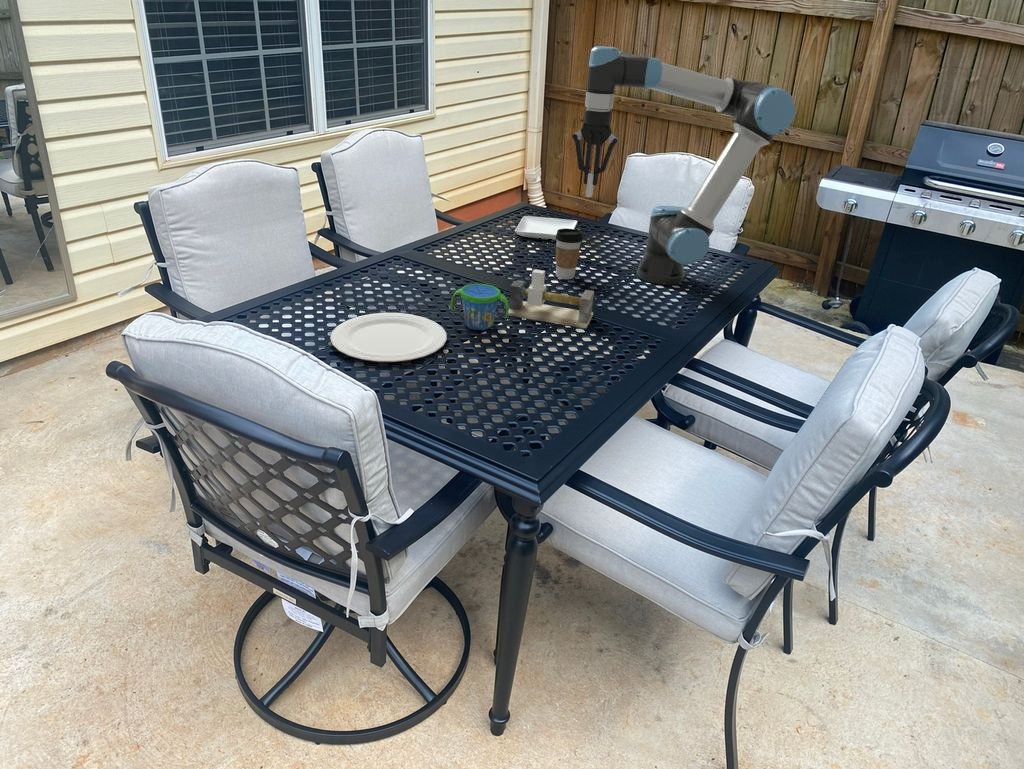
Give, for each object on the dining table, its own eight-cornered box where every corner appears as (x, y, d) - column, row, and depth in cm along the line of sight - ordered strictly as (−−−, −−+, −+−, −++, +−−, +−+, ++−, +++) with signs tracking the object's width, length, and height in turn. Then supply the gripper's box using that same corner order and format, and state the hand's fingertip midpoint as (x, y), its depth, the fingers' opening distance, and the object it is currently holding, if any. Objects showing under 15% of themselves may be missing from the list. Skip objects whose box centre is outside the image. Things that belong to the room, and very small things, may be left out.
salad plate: (513, 239, 270) (514, 229, 268) (523, 223, 288) (523, 214, 287) (571, 245, 267) (572, 236, 265) (577, 228, 286) (577, 220, 284)
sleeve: (545, 300, 209) (547, 269, 205) (540, 306, 205) (543, 275, 201) (531, 298, 210) (533, 267, 206) (527, 304, 206) (529, 273, 202)
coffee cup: (568, 282, 232) (573, 236, 225) (546, 276, 236) (550, 230, 229) (583, 276, 238) (588, 230, 231) (561, 269, 242) (565, 225, 235)
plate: (396, 379, 170) (396, 372, 170) (305, 345, 183) (305, 338, 183) (469, 338, 193) (469, 331, 192) (383, 309, 206) (383, 303, 205)
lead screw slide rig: (593, 315, 210) (596, 289, 206) (586, 328, 202) (589, 302, 198) (515, 302, 215) (517, 277, 211) (505, 314, 207) (507, 288, 203)
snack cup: (512, 323, 202) (514, 288, 197) (500, 338, 193) (502, 302, 188) (459, 313, 206) (460, 279, 201) (444, 328, 197) (445, 292, 192)
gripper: (624, 109, 202) (613, 196, 213) (577, 105, 205) (569, 190, 216) (620, 113, 195) (609, 202, 207) (572, 108, 198) (564, 196, 210)
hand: (589, 196), depth 211 cm, fingers closed
